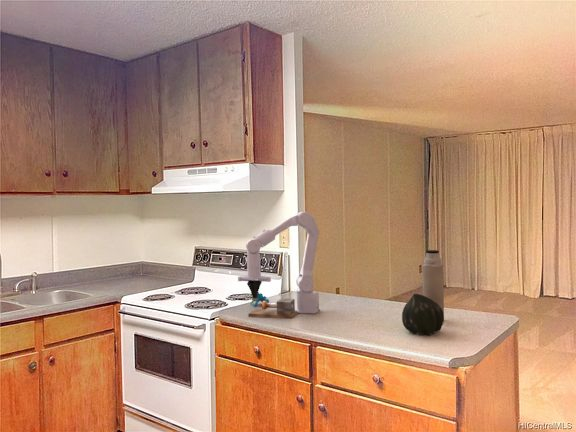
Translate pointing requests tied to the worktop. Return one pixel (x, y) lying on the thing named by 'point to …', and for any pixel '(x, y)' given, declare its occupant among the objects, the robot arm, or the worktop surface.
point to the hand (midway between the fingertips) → (255, 297)
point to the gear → (259, 299)
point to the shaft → (269, 305)
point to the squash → (422, 315)
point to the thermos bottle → (433, 278)
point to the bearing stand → (282, 310)
